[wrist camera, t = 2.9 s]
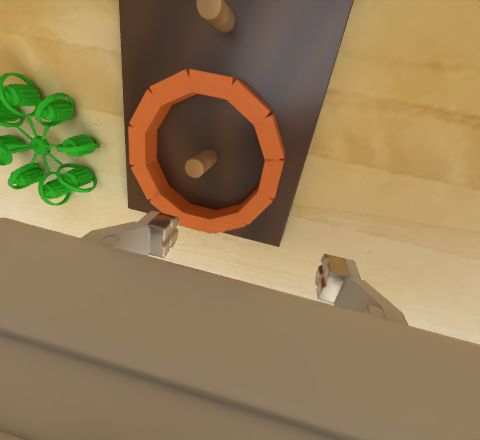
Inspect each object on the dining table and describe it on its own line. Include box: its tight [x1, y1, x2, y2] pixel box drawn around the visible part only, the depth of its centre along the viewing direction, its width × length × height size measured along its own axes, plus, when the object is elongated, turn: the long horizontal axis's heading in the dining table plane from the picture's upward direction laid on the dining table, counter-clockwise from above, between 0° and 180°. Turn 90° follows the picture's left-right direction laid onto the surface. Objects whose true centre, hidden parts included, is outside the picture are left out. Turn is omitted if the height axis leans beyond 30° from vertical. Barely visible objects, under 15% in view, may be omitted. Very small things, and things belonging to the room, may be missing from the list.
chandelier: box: [0, 73, 100, 205], centre depth 29 cm, size 15×15×7 cm
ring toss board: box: [119, 0, 354, 247], centre depth 23 cm, size 20×30×6 cm, turn 170°
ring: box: [128, 69, 285, 234], centre depth 26 cm, size 16×16×3 cm
